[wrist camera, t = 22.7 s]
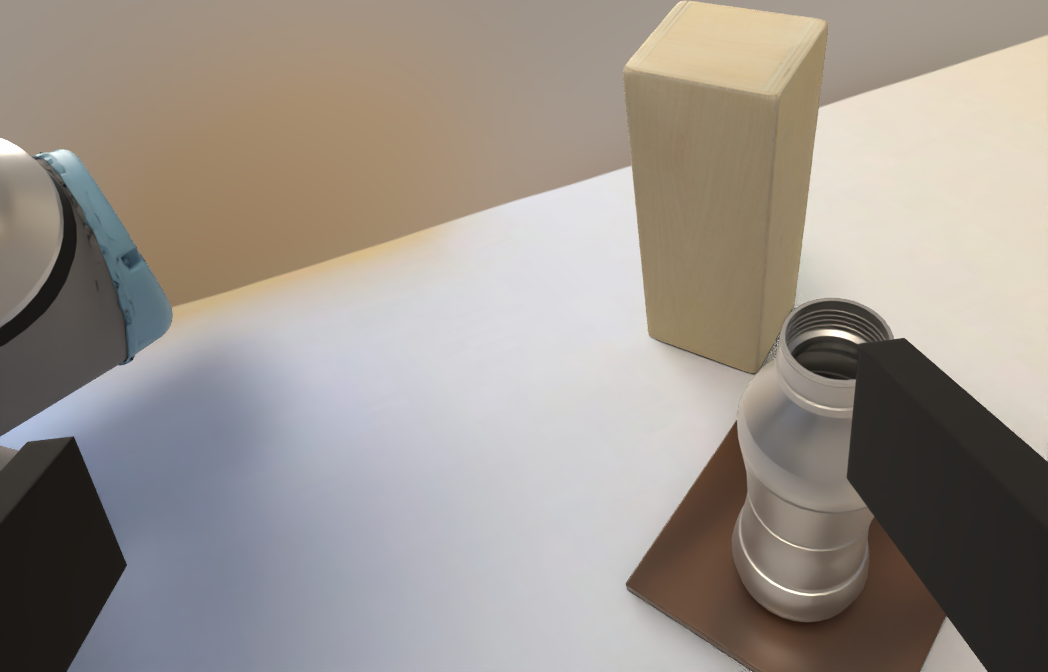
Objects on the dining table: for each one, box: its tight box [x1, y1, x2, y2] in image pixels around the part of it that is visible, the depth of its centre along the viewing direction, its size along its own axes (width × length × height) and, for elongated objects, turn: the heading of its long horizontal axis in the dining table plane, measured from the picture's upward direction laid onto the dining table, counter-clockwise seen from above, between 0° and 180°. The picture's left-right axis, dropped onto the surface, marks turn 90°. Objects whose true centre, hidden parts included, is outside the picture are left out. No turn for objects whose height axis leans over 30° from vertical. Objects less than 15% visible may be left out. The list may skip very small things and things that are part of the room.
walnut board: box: [626, 420, 946, 672], centre depth 43 cm, size 14×17×1 cm
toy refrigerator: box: [623, 1, 828, 373], centre depth 46 cm, size 8×7×21 cm
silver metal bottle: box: [732, 298, 894, 622], centre depth 34 cm, size 6×7×20 cm
